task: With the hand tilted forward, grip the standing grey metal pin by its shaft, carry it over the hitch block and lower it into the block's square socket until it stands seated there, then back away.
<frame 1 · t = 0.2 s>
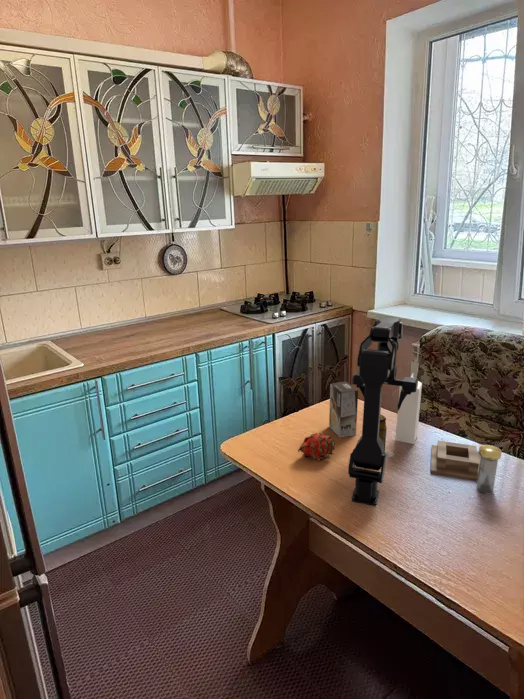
hand: (382, 407, 150), 14 cm above the table, tool pointing down, fingers open, 9 cm apart
hitch block: (455, 463, 146), on the table
condiment: (376, 453, 153), on the table
pin: (484, 489, 133), on the table
milk: (406, 439, 162), on the table
dragon fruit: (316, 458, 150), on the table
coffee box: (342, 431, 167), on the table
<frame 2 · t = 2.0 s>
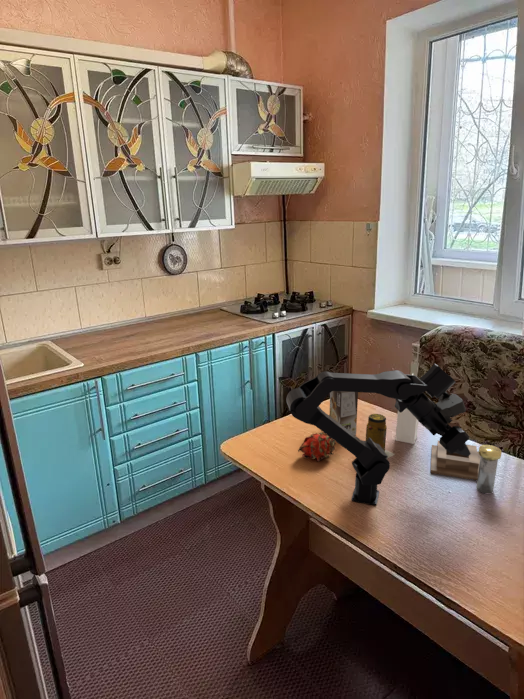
hand: (460, 446, 128), 13 cm above the table, tool tilted 45°, fingers open, 9 cm apart
nothing on the table moved.
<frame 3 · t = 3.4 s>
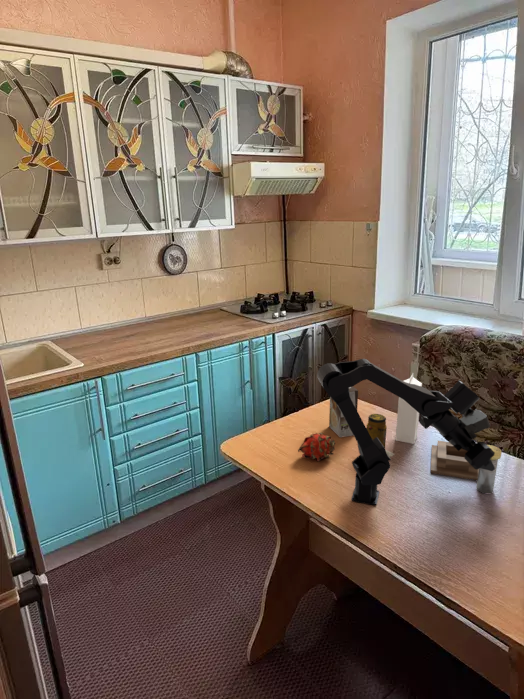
hand: (483, 460, 130), 9 cm above the table, tool tilted 45°, fingers open, 9 cm apart
nothing on the table moved.
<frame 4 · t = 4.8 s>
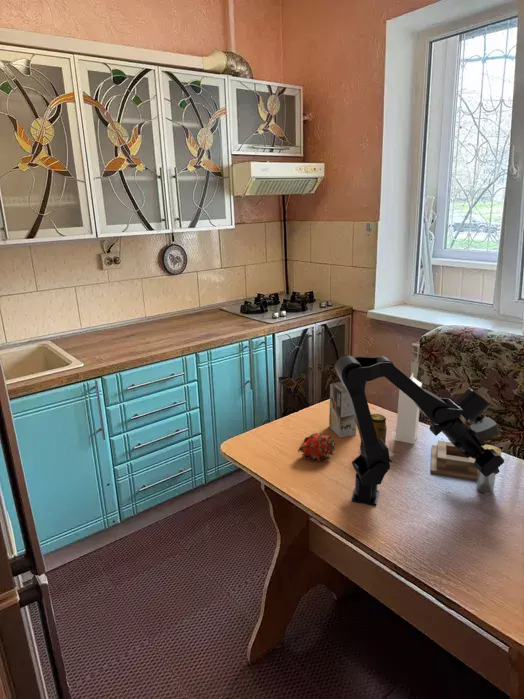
hand: (492, 467, 131), 7 cm above the table, tool tilted 45°, fingers closed on pin, 5 cm apart
pin: (484, 489, 133), on the table, touching gripper
everything else where it was.
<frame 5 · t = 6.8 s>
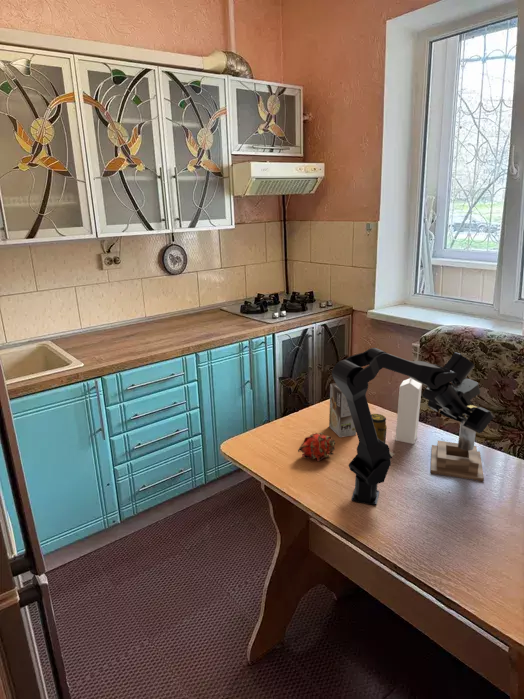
hand: (471, 425, 140), 14 cm above the table, tool tilted 45°, fingers closed on pin, 5 cm apart
pin: (465, 447, 141), point 7 cm above the table, touching gripper
everything else where it was.
when the fingers open (8 cm above the table, at t = 8.6 s): pin stays where it is, resting on hitch block.
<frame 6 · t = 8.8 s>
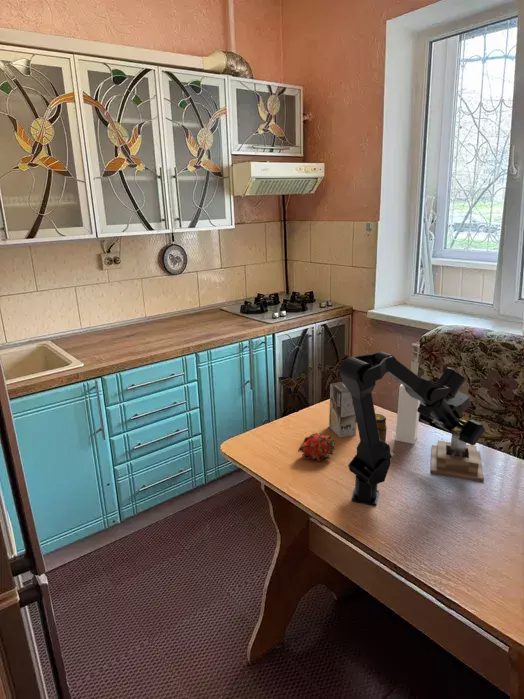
hand: (462, 436, 144), 9 cm above the table, tool tilted 45°, fingers open, 7 cm apart
pin: (456, 460, 146), point 1 cm above the table, touching hitch block
everything else where it was.
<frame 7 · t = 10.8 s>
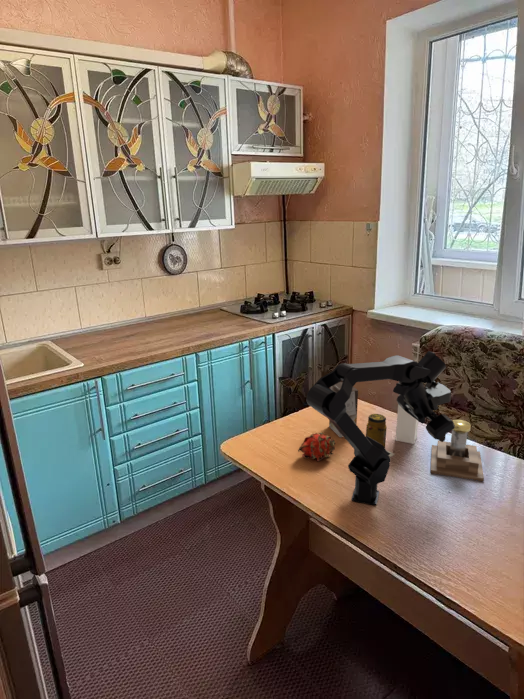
hand: (433, 431, 138), 13 cm above the table, tool tilted 35°, fingers open, 9 cm apart
nothing on the table moved.
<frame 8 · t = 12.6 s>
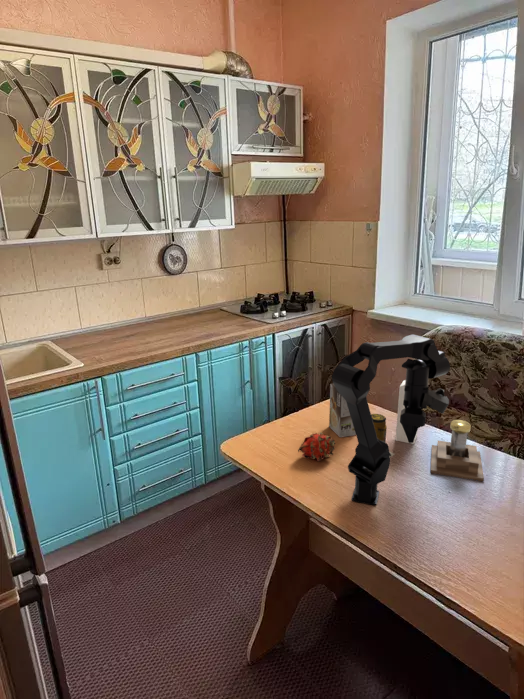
hand: (411, 435, 136), 13 cm above the table, tool pointing down, fingers open, 9 cm apart
nothing on the table moved.
at the end: pin 0.1 cm off-centre on the hitch block, point 1.0 cm above the hitch block's base; pin tilted 1°; the gripper is holding nothing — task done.
